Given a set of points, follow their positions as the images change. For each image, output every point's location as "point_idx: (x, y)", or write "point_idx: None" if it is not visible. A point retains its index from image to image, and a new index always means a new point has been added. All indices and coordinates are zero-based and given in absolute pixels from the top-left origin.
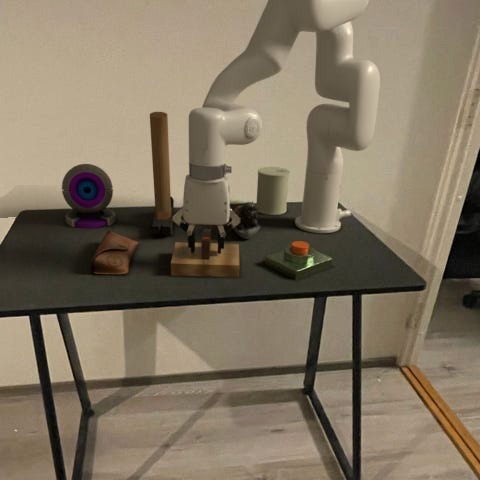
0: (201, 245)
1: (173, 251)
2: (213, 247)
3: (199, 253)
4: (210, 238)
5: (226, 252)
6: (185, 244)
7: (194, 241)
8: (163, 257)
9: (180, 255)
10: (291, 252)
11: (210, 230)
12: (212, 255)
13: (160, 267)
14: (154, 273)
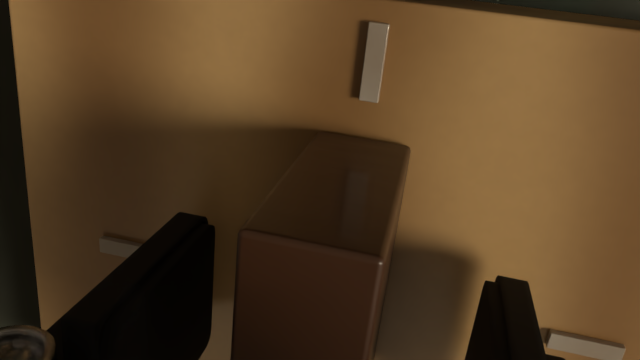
0: (303, 79)
1: (29, 209)
2: (447, 151)
3: None
4: (373, 348)
5: (580, 306)
6: (118, 37)
7: (165, 353)
8: (5, 36)
9: None
10: None
11: (368, 332)
12: (402, 352)
13: (22, 222)
14: (5, 303)
